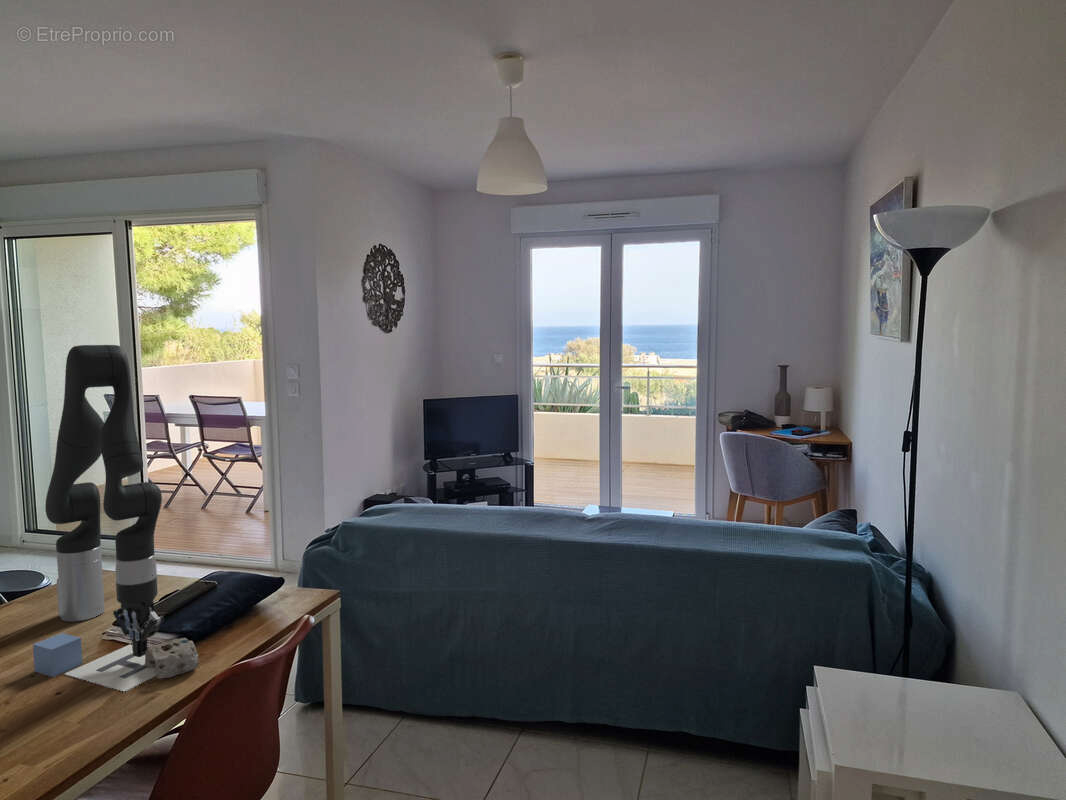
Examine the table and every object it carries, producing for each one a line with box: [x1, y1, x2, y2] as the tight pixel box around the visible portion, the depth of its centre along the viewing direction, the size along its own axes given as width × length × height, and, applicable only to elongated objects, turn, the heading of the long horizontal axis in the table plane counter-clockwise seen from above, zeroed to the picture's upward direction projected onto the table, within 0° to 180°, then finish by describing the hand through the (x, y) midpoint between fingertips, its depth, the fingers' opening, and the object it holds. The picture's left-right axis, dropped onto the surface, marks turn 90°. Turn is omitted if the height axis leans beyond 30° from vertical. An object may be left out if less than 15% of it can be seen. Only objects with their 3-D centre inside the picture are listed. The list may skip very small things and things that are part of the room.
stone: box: [145, 637, 200, 680], centre depth 145 cm, size 13×6×10 cm
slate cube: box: [32, 632, 83, 678], centre depth 145 cm, size 6×6×6 cm
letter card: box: [63, 643, 157, 693], centre depth 146 cm, size 18×16×1 cm
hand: (140, 655), depth 148 cm, fingers closed
